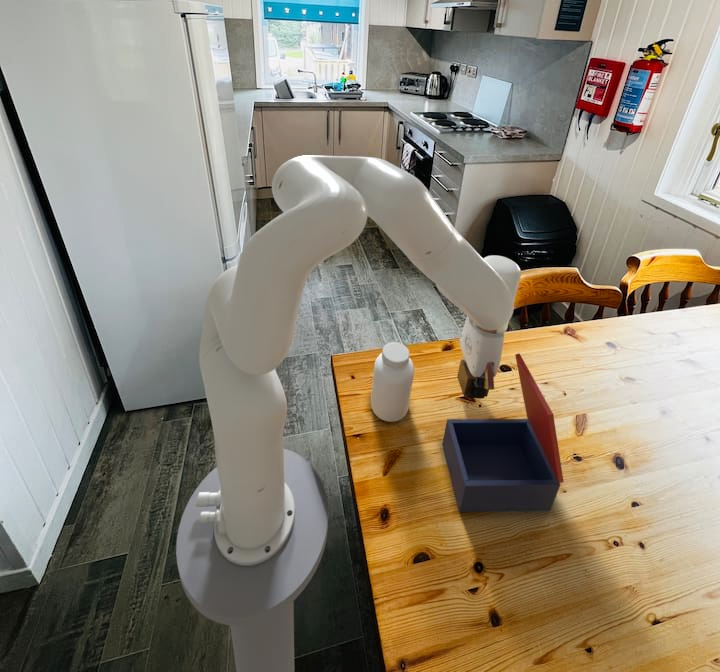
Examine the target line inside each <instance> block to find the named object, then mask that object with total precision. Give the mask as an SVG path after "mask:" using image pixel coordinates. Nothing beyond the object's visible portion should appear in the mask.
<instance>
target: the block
mask: <svg viewBox="0 0 720 672" xmlns="http://www.w3.org/2000/svg"><path fill="white" fill-rule="evenodd" d="M456 377H457V381H458V383H459V386H460V389H461V392H462V395H463V397H469V392H470V388H471V383H472V382H474V376H473V375H472V374H471V373H470V370H469V368H468V366H467V363H466V360H465V359H464V358H463V359H460V362H459V366H458V371H457V375H456ZM479 380H485V375H481V376H480V377H479ZM489 392H490V390H486V394H485V398H486V397H488V395H489Z"/></svg>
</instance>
